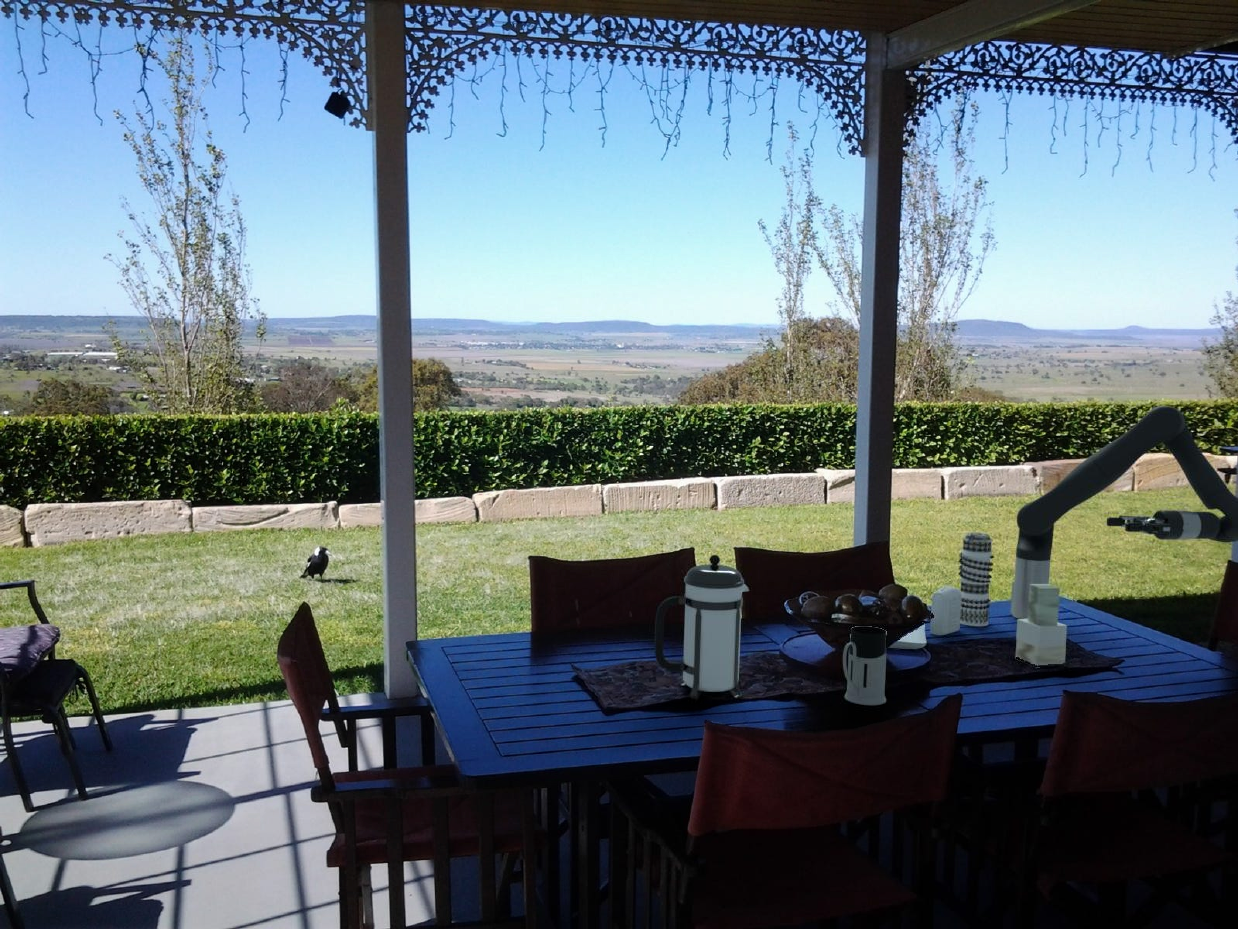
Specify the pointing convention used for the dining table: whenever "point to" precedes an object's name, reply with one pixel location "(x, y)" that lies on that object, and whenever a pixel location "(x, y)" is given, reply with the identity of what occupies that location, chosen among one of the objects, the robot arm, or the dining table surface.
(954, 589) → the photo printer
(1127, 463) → the robot arm
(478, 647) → the dining table surface
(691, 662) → the coffee press
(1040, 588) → the sage block
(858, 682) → the glass holder
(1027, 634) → the grey block
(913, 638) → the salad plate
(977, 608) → the decorative candle
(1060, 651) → the ash block
